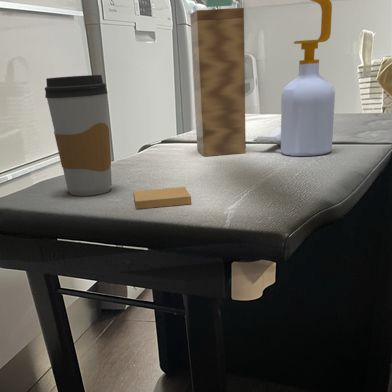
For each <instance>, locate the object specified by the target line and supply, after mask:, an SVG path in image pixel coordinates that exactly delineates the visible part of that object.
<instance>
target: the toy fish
mask: <svg viewBox="0 0 392 392" xmlns="http://www.w3.org/2000/svg"><path fill="white" fill-rule="evenodd" d="M252 142H256V143H274V144H275V145H277V146H281V125H279V126H277V127H276V128H275V130H274V131H272V132H271V133H269V134H268V135H266V136H265V135H263V136H257V137H256V138H254V139H253V140H252Z"/></svg>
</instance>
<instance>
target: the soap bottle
mask: <svg viewBox="0 0 392 392" xmlns="http://www.w3.org/2000/svg"><path fill="white" fill-rule="evenodd" d="M310 1H311V2H314V3H317V4H318V5H319V6H320V8H321V9H320V10H321V19H320V20H321V21H320V22H321V24H320V35H319V37H318V39H307V40H305V39H304V40H295V41H293V44H294V45H300V44H301V45H300V50H302V51H303V50H304V51H303V52H304V53H303V54H304V56H303V60H299V62H298V75H297V76H296V77H295V78H294V79H293V80H291V81H290V82H289V83H288V84H287V85H286V86H285V87H283V90H282V92H281V99H280V100H281V101H280V102H281V103H280V105H281V106H280V107H281V110H280V112H281V113H280V126H281V145H280V152H281V154H283V155H285V156H289V155H290V157H313V156H314V157H315V156H316V157H317V156H321V155H326V154H328V153H330V152H332V150H333V137H334V119H335V101H336V100H335V99H336V91H335V88H334V86H333V84H331V83H330V81H328V80H327V79H326V78H324V77H323V76H321V75H320V72H319V71H320V58H319V59H318V58H317V59H315V49H316V50H318V49H319V43H324V42H327V41H328V40H329V39H330V37H331V34H332V14H333V13H332V12H333V11H332V10H333V3H332V1H331V0H310Z"/></svg>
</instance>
